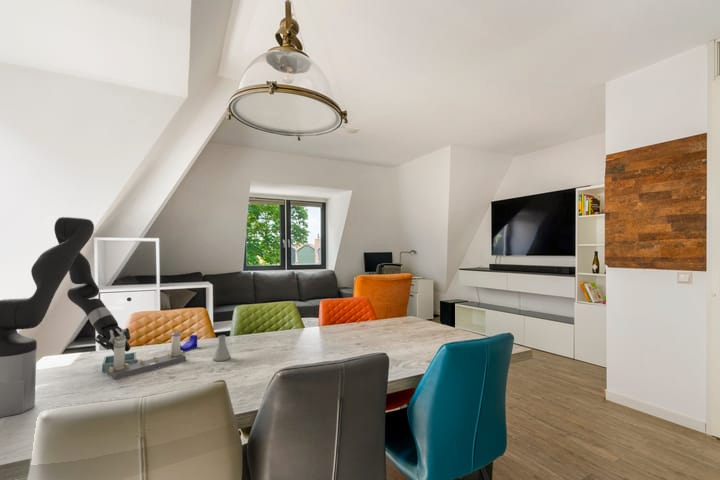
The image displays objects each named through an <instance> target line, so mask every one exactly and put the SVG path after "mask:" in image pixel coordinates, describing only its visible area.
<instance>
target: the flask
mask: <svg viewBox="0 0 720 480" xmlns="http://www.w3.org/2000/svg"><path fill="white" fill-rule="evenodd" d="M217 338H218V342H217V346H216V349H215V351H214V354H213V356H212V361H214V362H223V361H227V360H229V359H231V358H232V356H231V353H230V352H229V350H228V349H229V348H228V346H227V342H226V338H227V336H226V335H223V334H222V335H218V336H217Z"/></svg>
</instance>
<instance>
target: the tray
mask: <svg viewBox="0 0 720 480" xmlns="http://www.w3.org/2000/svg"><path fill="white" fill-rule="evenodd" d="M125 363H127V364H132V363H137V352H136V351H135V352H128V353H127V352H126V353H125ZM124 365H125V364H124ZM109 367H112V368H113V367H114V354H113V355H108V356H107V355H105V356H104V357H103V361H102V366H101V370H102V371H101V373H107V372H108V369H109Z"/></svg>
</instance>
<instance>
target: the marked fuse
mask: <svg viewBox="0 0 720 480" xmlns="http://www.w3.org/2000/svg"><path fill="white" fill-rule="evenodd" d="M125 339H126V336H117V337H115V343H120V342H124V343H125Z"/></svg>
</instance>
